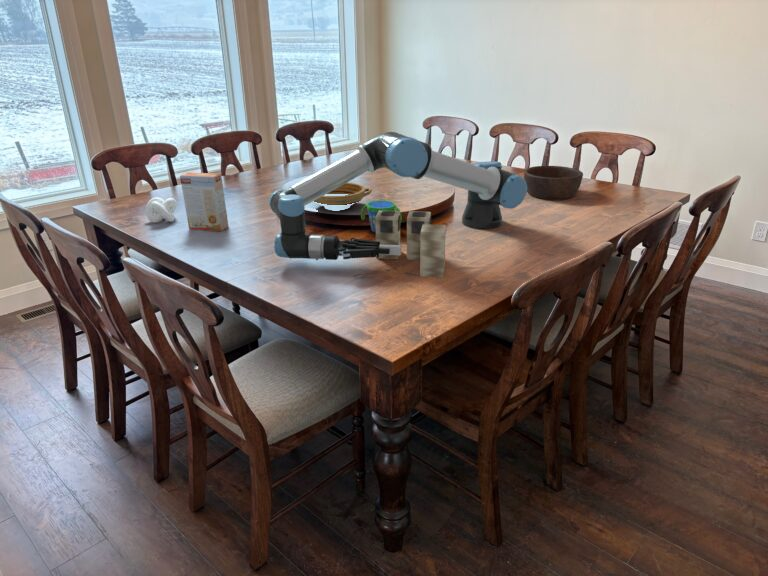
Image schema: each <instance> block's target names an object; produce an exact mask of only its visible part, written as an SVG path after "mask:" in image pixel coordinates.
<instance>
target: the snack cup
mask: <svg viewBox="0 0 768 576" xmlns="http://www.w3.org/2000/svg"><path fill="white" fill-rule="evenodd" d="M365 209H366V210H367V213H368V218H369V220H368V221H369V224H370V225H369V226H370V230H371V231H372V232H373V233H376V221H375V217H376V215H377V213H378V211H379V210H380V211H400V224H401V223H402V220H403V216H402V213H401V210H400V208H399V207H398V206H396V203H395V202H393V201H390V200H385V199H384V200H380V199H379V200H372V201H368V202H367V203H366V204H365V205H363V206H362V207H361V211H360V218H361V221H364V220H365V219H366V215H365Z"/></svg>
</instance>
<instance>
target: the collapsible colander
mask: <svg viewBox="0 0 768 576" xmlns="http://www.w3.org/2000/svg"><path fill="white" fill-rule="evenodd" d="M371 193H372V188H370V187H367V188H366V186H364V185H362V184H359V183H355V182H350V181H349V182H347V183H345V184H343V185H342V186H340V187H338V188H336V189H334V190H333V191H331V192H329V193H327V194H348V195H345V196H322V197H320V198H318V199H316V200H315V201H314V202H317V203H321V204H327V205H347V204H352V203H356V202H358V203H360V202H361V201H362V200H363V198H365V197H367V196H369V195H371ZM359 201H360V202H359ZM314 202H313V203H314Z"/></svg>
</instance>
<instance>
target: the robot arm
mask: <svg viewBox="0 0 768 576" xmlns="http://www.w3.org/2000/svg"><path fill="white" fill-rule="evenodd" d="M383 168H385V169H387V170H389V171H391V172H393V173H394V174H395V175H397V176H400V177H402V178H411V179H415V180H421V179H422V178H424V177H425V178H427V179H431V180H433V181H437V182H440V183H444V184H447V185H450V186H454V187H456V188H460V189H462V190H467V202H466V203H467V204H466V205H465V208H464V210H463V213H462V217H461V222H462V225H464V226H467V227H469V228H473V229H493V228H494V229H495V228H498V227H500V226H502V223H503V216H502V211H501V207H503V208H505V209H515V208H517V207H518V206H519V205H521V204H522V203H523V202H524V200H525V198H526V196H527V193H528V192H527V184H526V181H525V179H524V176H521V175H520V174H517V173H513V172H510V171H507V170H505V169H502V168H503V166H502V163H501V161H493V160H492V161H478V162H473V163H470V162H466V161H464V160H461V159H458V158H455V157H453V156H450V155H447V154H444V153H440V152H438V151H435V150H433V149H432V147H431V145H430V144H429V143H427V142H423V141H421V140H418V139H416V138H413V137H409V136H406V135H404V134H401V133H400V132H399V133H398V132H396V131H395V132H394V131H387V132H383V133H380V134H378V135H376V136H374V137H372V138H371V139H369V140H367V141H365V142H364V143H362V144H360V145H359V144H358V146H357V149H356V150H355V151H353V152H352V153H349V154H348V155H346V156H344V157H342V158H340V159H339V160H338V161H334V163H332V164H330V165H328V166H326V167H325V168H322V169H321V170H319V171H318V172H316V173H314V174H312V175H310V176H308V177H306V178H304V179H302V180H300V181H299V182H298V183H295V184H294V185H292V186H289V187H287V189H283V190H282V189H277V190H275V191H273V192H272V193H271V194H270V196H269V200H268V201H269V206H270V209H271V210H272V212H273V213H274V214H275V215H276V216H277V218H278V219H279V221H280V231H281V232H280V233H278V234H276V235H275V237H274V238H275V239H274V245H273V246H274V247H273V248H274V251H275V252H274V253H275V254H276V256H278V257H280V258H287V259H288V258H289V259H309V260H311V259H312V260H315V261H318V260H324V259H325V260H328V261H331V260H332V261H336V260H338V258H339V257H340V256H342V259H343V260H349V259H366V258H367V259H368V258H369V259H370V258H376V255H377V258H376V259H379V258H378V257H379V254H380V255H399V256H401V255H402V245H401V244H400V245H381V244H380V241H378V242H377V241H376V240H369V239H368V240H367V239H360V238H355V237H350V240H349V239H345V240H340V238H339V236H338V235H331V234H327V235H325V234H308V233H306V232H307V231H306V214H305V209H306V208H305V206H307V205H309V204H311V203H312V202H313V201H315V200H316V199H318V198H320V197H322V196H324V195H325V194H327V193H329V192H331V191H333V190H334V189H336V188H338V187H340V186H342V185H343V184H345V183H347V182H349V183H350V181H352V180H354V179H356V178H358V177H359V176H361V175H364V174H365V173H367V172H371V173H373V172H375V171H377V170H380V169H383ZM313 203H314V202H313ZM500 206H501V207H500Z"/></svg>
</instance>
